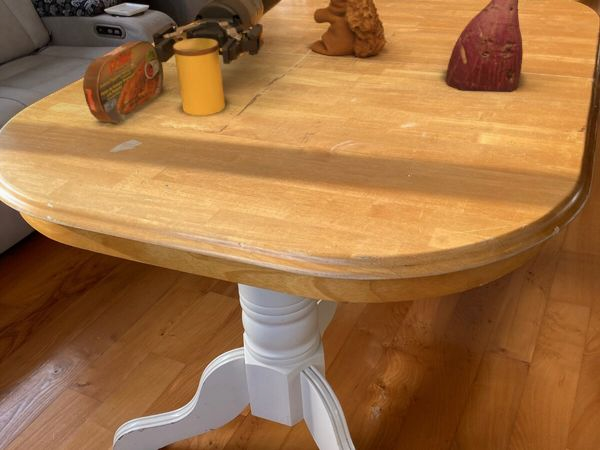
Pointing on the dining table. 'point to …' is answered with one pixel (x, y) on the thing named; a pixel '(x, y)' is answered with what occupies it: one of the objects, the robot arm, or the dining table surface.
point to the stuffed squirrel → (350, 29)
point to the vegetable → (488, 51)
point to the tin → (122, 81)
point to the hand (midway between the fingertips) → (192, 55)
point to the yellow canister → (199, 75)
